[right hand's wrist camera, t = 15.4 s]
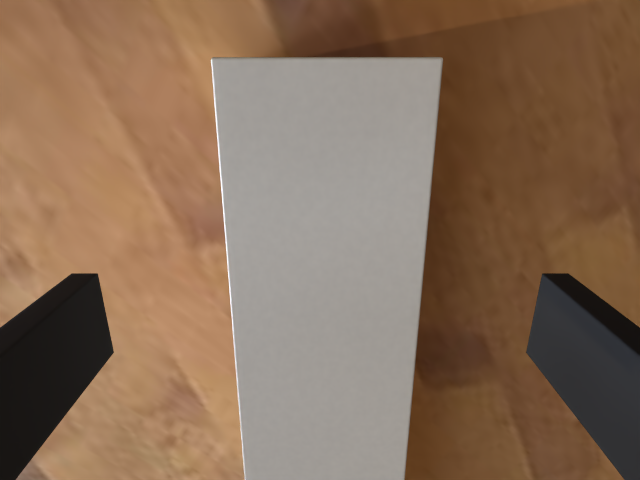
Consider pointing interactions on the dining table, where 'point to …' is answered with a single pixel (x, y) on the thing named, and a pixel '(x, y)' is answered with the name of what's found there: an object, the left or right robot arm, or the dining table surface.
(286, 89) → the thick board
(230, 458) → the dining table surface
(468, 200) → the dining table surface
